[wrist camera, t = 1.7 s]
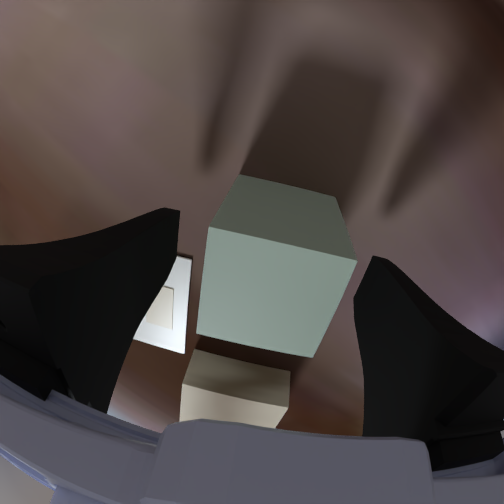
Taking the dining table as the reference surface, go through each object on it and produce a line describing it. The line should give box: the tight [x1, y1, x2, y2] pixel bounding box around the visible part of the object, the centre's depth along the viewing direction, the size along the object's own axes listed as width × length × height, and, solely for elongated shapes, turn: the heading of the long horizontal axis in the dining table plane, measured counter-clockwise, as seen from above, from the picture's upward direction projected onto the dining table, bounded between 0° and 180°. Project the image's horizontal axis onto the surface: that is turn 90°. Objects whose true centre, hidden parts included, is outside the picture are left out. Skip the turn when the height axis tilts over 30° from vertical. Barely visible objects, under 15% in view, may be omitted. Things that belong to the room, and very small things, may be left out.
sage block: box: [196, 174, 357, 358], centre depth 11 cm, size 4×4×5 cm
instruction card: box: [133, 256, 192, 354], centre depth 16 cm, size 5×7×1 cm
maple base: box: [180, 349, 290, 429], centre depth 18 cm, size 6×6×3 cm
